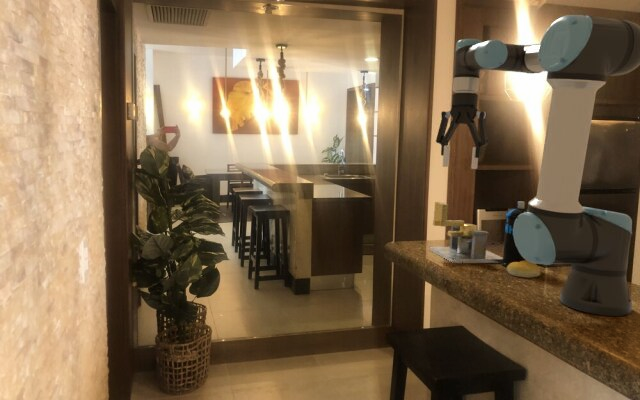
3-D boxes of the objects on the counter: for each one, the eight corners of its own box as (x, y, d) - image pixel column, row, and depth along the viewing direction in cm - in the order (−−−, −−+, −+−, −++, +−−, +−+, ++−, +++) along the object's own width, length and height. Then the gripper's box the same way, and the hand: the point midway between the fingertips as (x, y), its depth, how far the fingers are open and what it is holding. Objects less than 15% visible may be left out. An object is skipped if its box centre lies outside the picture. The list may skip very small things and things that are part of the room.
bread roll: (500, 272, 156) (501, 259, 156) (523, 270, 160) (524, 257, 160) (522, 279, 149) (523, 265, 148) (545, 277, 153) (546, 263, 152)
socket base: (505, 262, 168) (508, 232, 167) (452, 263, 164) (454, 232, 163) (478, 250, 185) (480, 223, 184) (429, 250, 182) (431, 222, 181)
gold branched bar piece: (490, 238, 172) (493, 205, 171) (436, 238, 169) (439, 204, 168) (481, 234, 178) (484, 202, 177) (429, 234, 175) (431, 201, 173)
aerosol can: (525, 263, 168) (531, 200, 165) (533, 270, 160) (539, 204, 157) (498, 262, 169) (504, 199, 166) (505, 268, 160) (510, 202, 158)
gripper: (504, 93, 157) (498, 169, 160) (438, 94, 170) (433, 165, 173) (495, 91, 151) (488, 170, 154) (427, 92, 165) (422, 165, 167)
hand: (459, 167), depth 164 cm, fingers open, 9 cm apart
